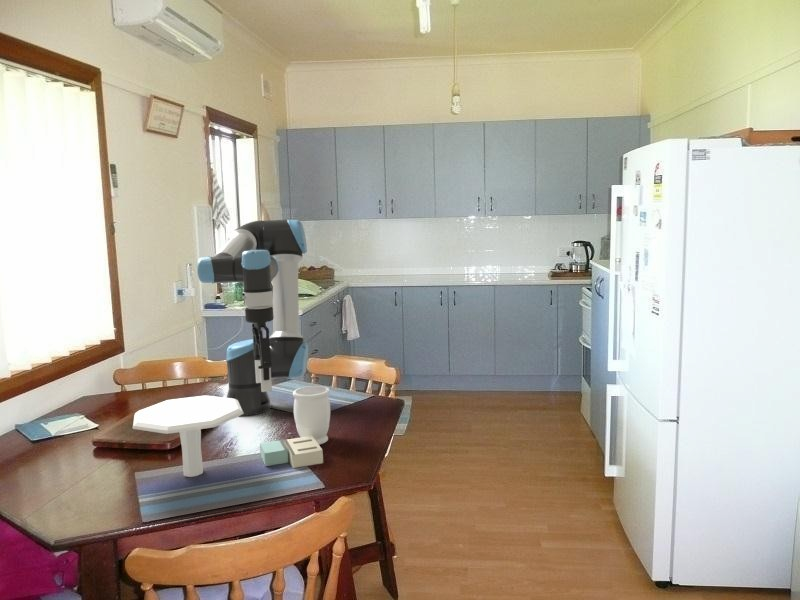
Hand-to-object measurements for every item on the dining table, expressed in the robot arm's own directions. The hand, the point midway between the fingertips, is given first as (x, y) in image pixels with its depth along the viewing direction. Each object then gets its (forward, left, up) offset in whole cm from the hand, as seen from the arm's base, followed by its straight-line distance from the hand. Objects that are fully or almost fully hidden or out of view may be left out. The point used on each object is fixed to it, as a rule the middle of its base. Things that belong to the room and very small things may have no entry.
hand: (263, 386), depth 177 cm
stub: (+10, 0, -18) cm, 20 cm away
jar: (+1, +13, -18) cm, 22 cm away
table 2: (+10, -20, -18) cm, 29 cm away
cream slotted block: (+12, +8, -18) cm, 23 cm away
